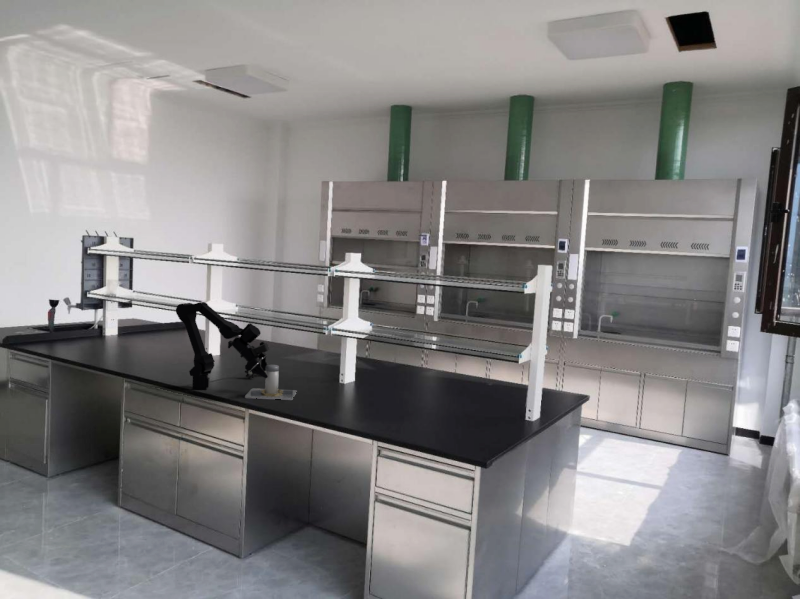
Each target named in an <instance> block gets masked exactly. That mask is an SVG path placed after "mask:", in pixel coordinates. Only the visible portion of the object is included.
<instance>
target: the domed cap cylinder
mask: <svg viewBox="0 0 800 599" xmlns="http://www.w3.org/2000/svg"><path fill="white" fill-rule="evenodd" d="M279 370H280V366H279V365H277V364H268V365H266V374H267V376H268V377H267V378H264V380H265V381H264V383H265V384H264V389H265V393H269V394H275V393H278V389H279V374H280V373H279V372H280V371H279Z"/></svg>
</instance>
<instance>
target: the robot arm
mask: <svg viewBox="0 0 800 599" xmlns="http://www.w3.org/2000/svg"><path fill="white" fill-rule="evenodd" d="M175 313H176V315H177V317H178V319H179V320H180V321H181V322H182V323H183V324H184V327H185V331H186V333H187V336H188V338H189V341H190V344H191V347H192V350H193V353H194V357H193V365H194V366H193V367H192V368H190V370H189V371H188V372H189V375H190V377H192V387H191V390H197V391H198V390H200V391H202V390H208V388H210V376H209V374H210V375H211V373H212V371H213V369H214V367H215V361H216V360H215V359H214V357H213V354H212V353H211V352H210V353H209V352H208V351H206V348H205V345H204V341H203V339H202V336H201V332H200V331H199V328H198V324H197V321H196V320H197V316H198V314H197V313H200V314H201V315H202V316H203V317H205V318H206V320H208V321H209V322H210V323H211V324H213V325H214V326H215V327H216V328H217V330H218V332H219V334H220V335H221V336H222V337H223V338H224V339H225V340H229V341H228V342H227V348H228V349H230V348H232V347H233V348H234V349H235V350H236V352H238V354H240V358H241V359H242V358H243V359H244V360H245V361H246V364H245V365H244V369H245V371H246V370H247V371H248V372H249V371H250V369H252V370H251V371H250V372H252V373H254V375H258V376H259V377H262V378H264V379H265V378H267V377H268V376H267V374H266V373H265V371H266V365H269V363H268V361H267V357H268V356H267V353H266V352H268V351H269V350H270V347H269V344H268V342H265V341H261V342H259V345H258V346H255V345H251V343H253V342H254V341H255V340H256V339H257V338H258V337H260V336H261V330H260V329H259V327H257V326H256V325H253V323H252V322H249V323H248V324H246V325H245V327H243V328H242V327H240V326H239V325H237V323H234V322H232V321H229V320H227V319H225V318H224V317H223V316H221V315H220V314H219V313H218V312H216V310H214V309H213V307H211V306H209V304H208V303H207V302H205V301H201V302H196V303H192V302H187V303H179V304H178V305H177V306H176V307H175ZM239 336H240V337H239ZM230 339H233V340H230ZM267 363H268V364H267Z"/></svg>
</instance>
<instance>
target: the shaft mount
mask: <svg viewBox="0 0 800 599" xmlns="http://www.w3.org/2000/svg"><path fill="white" fill-rule="evenodd" d="M296 392H297V393H298V390H295V389H279V388H278V393H275V394H269V393H265V388H257V387H256V388H255V387H254V388H251V389H250V390H249V391H248V392H247V393H246V394H245V396H244V399H254V400H255V399H256V398H257V400H258V399H260V400H275V399H281V401H293V399H294V398H293V397H295V396H296V394H297V393H296Z"/></svg>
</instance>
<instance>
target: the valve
mask: <svg viewBox="0 0 800 599" xmlns="http://www.w3.org/2000/svg"><path fill="white" fill-rule="evenodd" d="M267 364H268V365H269V363H268V362H267ZM251 370H252V369H250V370H249V371H247V370H246V369H245V370H244V373H245V374H246V375H245V377H246V378H248V379H249V380H252V379H255V378H256V377H255V376H254V375H255V374H254V373H252V372H250V371H251ZM265 373H266V371H265Z"/></svg>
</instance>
